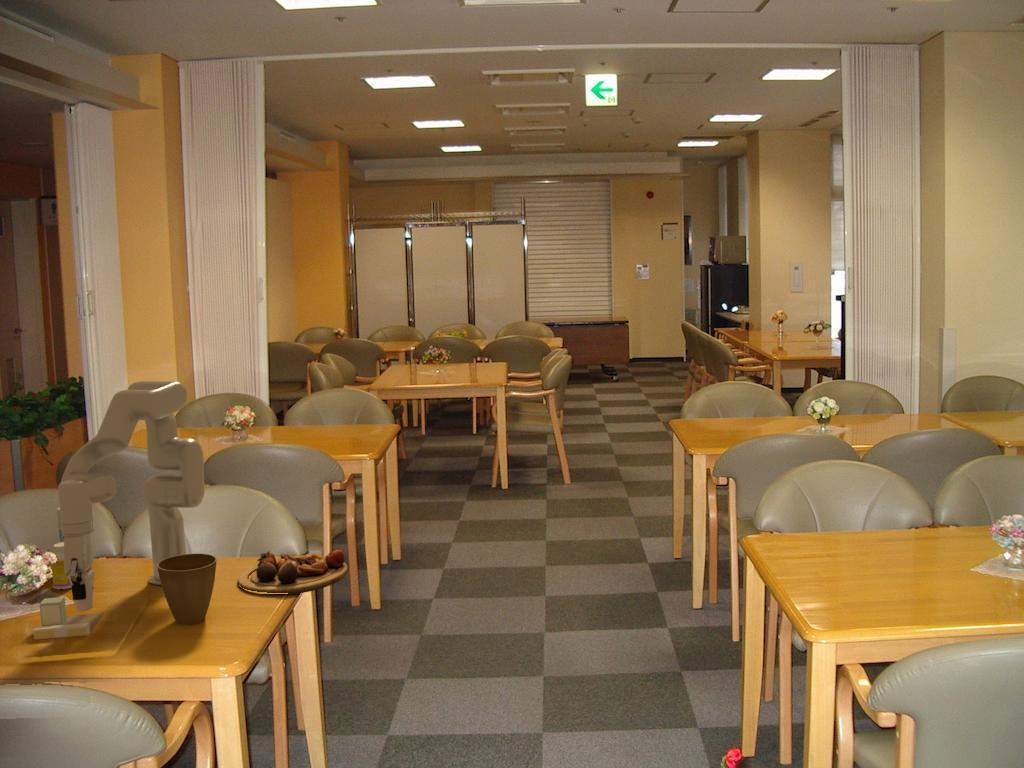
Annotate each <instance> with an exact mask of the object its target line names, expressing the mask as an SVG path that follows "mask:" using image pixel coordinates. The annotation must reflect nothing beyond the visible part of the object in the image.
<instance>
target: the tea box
mask: <svg viewBox="0 0 1024 768" xmlns="http://www.w3.org/2000/svg"><path fill="white" fill-rule="evenodd" d="M39 610H40V612H39V613H40V619H41V627H42V626H54V625H66V623H67V617H66V616H67V607H66V597H65V596H61V597H47V598H43V600H42V601H40V603H39Z"/></svg>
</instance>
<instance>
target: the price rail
mask: <svg viewBox="0 0 1024 768" xmlns="http://www.w3.org/2000/svg"><path fill="white" fill-rule="evenodd" d="M32 633H33V639H35V640H46V639H57V638H58V637H60V638H68V637H69V638H70V637H71V638H72V637H84V636H89V635H90V633H91V632H90V624H89V623H80V624H67V625H54V626H42V625H41V626H35V627H34V629H33V630H32Z"/></svg>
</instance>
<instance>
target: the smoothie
mask: <svg viewBox="0 0 1024 768" xmlns="http://www.w3.org/2000/svg"><path fill="white" fill-rule="evenodd" d="M77 572H81V570H77ZM95 575H96V573H95V570H94V569H92V570H91V569H88V570H87V571H86V572H85V573H84V584H85V587H86V599H84V600H74V602H75V607H76V611H78V612H87V611H90V610H92V609H93V604H94V603H93V600H94V589H93V587H94V579H95V578H94V577H95ZM68 577H69V578H68V579H69V580H70V582H71V578H70V574H69V575H68ZM77 577H79V578H80V575H77ZM71 586H72V585H71Z"/></svg>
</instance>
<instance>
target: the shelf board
mask: <svg viewBox="0 0 1024 768" xmlns="http://www.w3.org/2000/svg"><path fill="white" fill-rule="evenodd" d="M104 614H105V612H98V613H85V614H72V615H70V614H69V615H66V617H67V623H66V625H67V624H80V623H89V624H90V633H91V632H92V630H93V629H95V627H96V625H97V624H98V622H99V621H100V620H101V618H103V616H104ZM58 638H59V639H60V638H61V637H58ZM33 639H34V638H33ZM35 640H36V639H34V641H35Z"/></svg>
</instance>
